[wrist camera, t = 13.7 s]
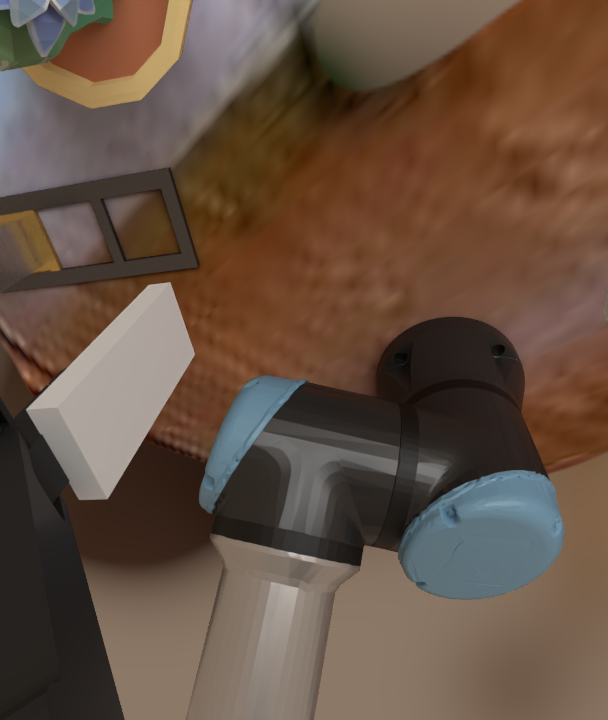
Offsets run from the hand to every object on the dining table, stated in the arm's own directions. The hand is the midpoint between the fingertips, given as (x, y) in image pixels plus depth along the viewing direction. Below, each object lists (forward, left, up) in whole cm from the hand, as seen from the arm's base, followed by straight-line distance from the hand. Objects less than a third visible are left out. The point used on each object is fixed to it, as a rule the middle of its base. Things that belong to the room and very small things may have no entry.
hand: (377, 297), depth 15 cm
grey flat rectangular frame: (-4, +31, -32) cm, 45 cm away
